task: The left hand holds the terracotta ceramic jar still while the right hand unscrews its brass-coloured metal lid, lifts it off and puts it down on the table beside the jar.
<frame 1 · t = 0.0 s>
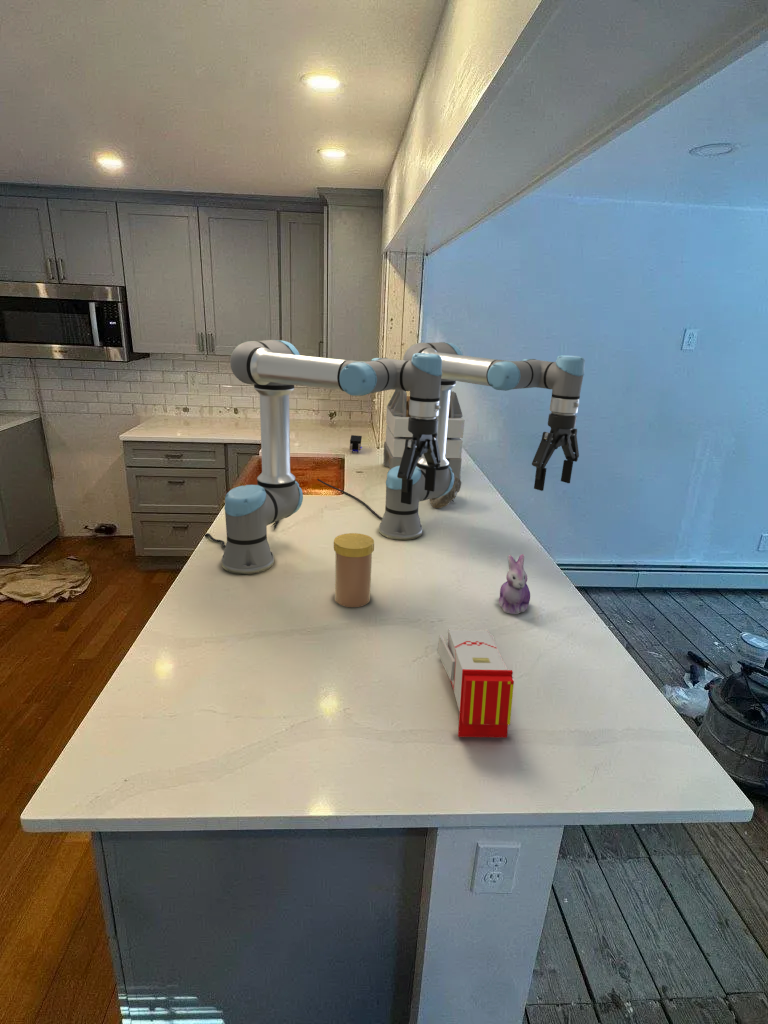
left hand: (418, 496, 151), 28 cm above the counter, tool pointing down, fingers open, 13 cm apart
right hand: (552, 485, 166), 28 cm above the counter, tool pointing down, fingers open, 13 cm apart
toy: (469, 691, 119), on the counter
jar: (352, 598, 154), on the counter
figurine: (513, 607, 154), on the counter
feather: (281, 517, 210), on the counter
fossil: (443, 501, 236), on the counter
figurine character: (355, 451, 311), on the counter
white wooden crate: (419, 473, 275), on the counter
lid: (354, 541, 149), point 17 cm above the counter, screwed on, not yet turned
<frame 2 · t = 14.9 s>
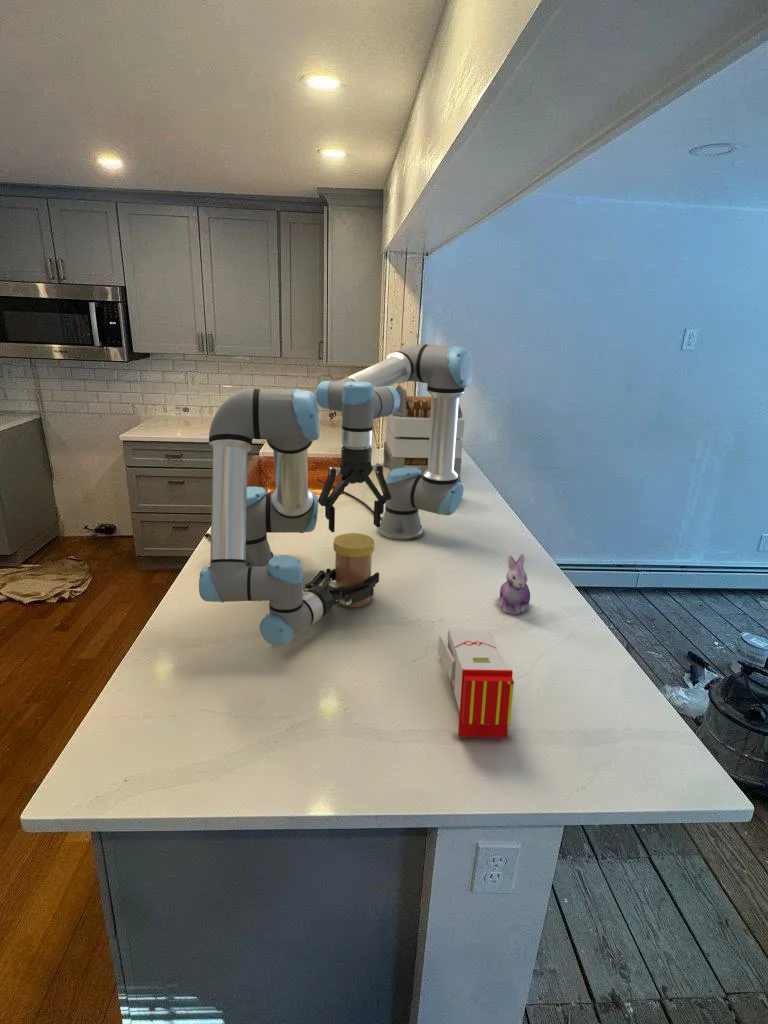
left hand: (361, 572, 156), 6 cm above the counter, tool horizontal, fingers closed on jar, 10 cm apart
right hand: (354, 528, 147), 21 cm above the counter, tool pointing down, fingers open, 12 cm apart
jar: (352, 598, 154), on the counter, touching left hand
everything else where it was.
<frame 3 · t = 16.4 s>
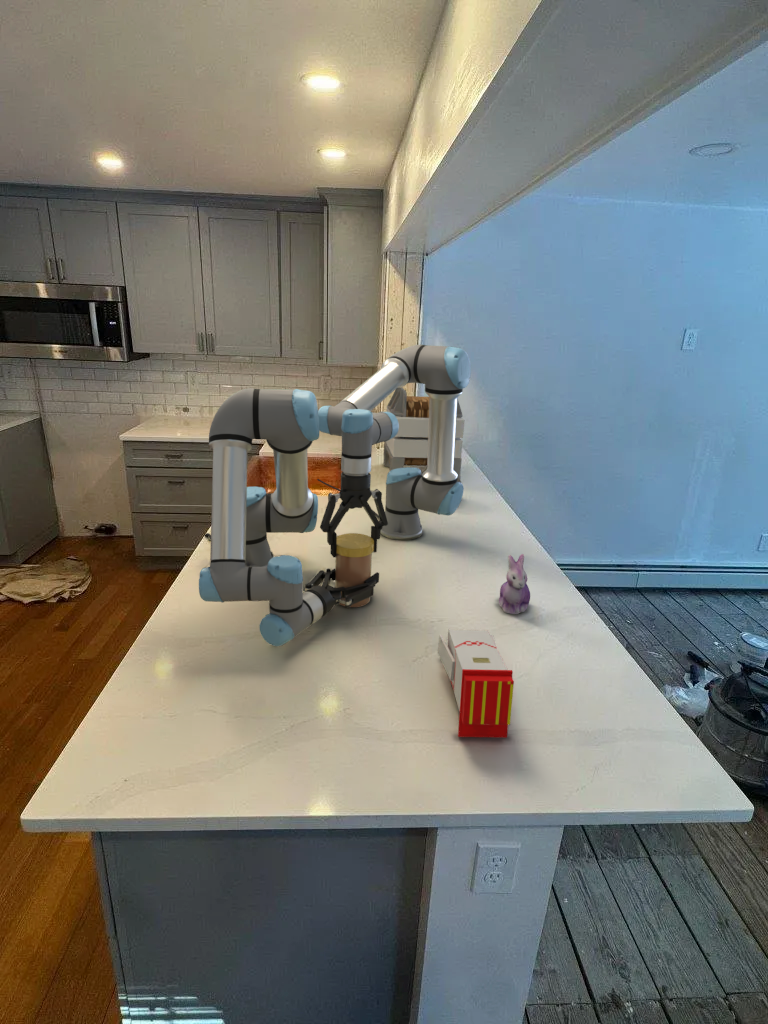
left hand: (361, 572, 156), 6 cm above the counter, tool horizontal, fingers closed on jar, 10 cm apart
right hand: (353, 552, 150), 14 cm above the counter, tool pointing down, fingers closed on lid, 10 cm apart
jar: (352, 598, 154), on the counter, touching left hand
lid: (354, 541, 149), point 17 cm above the counter, screwed on, not yet turned, touching right hand
everything else where it was.
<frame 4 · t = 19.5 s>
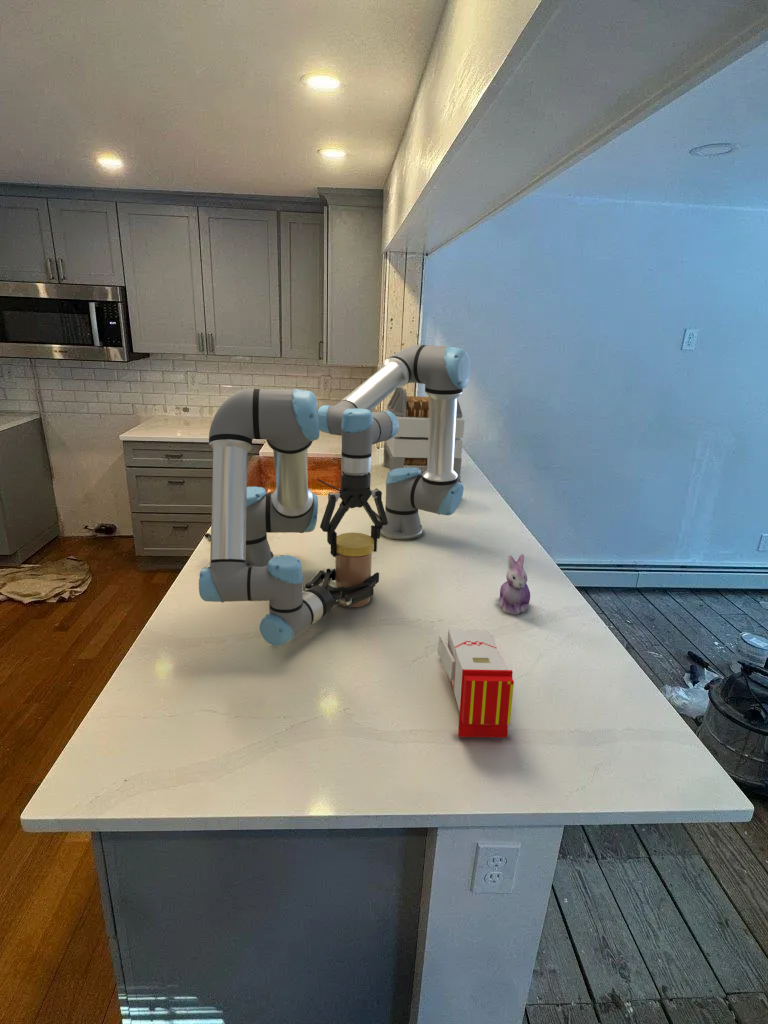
left hand: (361, 572, 156), 6 cm above the counter, tool horizontal, fingers closed on jar, 10 cm apart
right hand: (353, 552, 150), 14 cm above the counter, tool pointing down, fingers closed on lid, 10 cm apart
jar: (352, 598, 154), on the counter, touching left hand
lid: (354, 541, 149), point 17 cm above the counter, turned 80° so far, risen 0.2 cm, still on its thread, touching right hand
everything else where it was.
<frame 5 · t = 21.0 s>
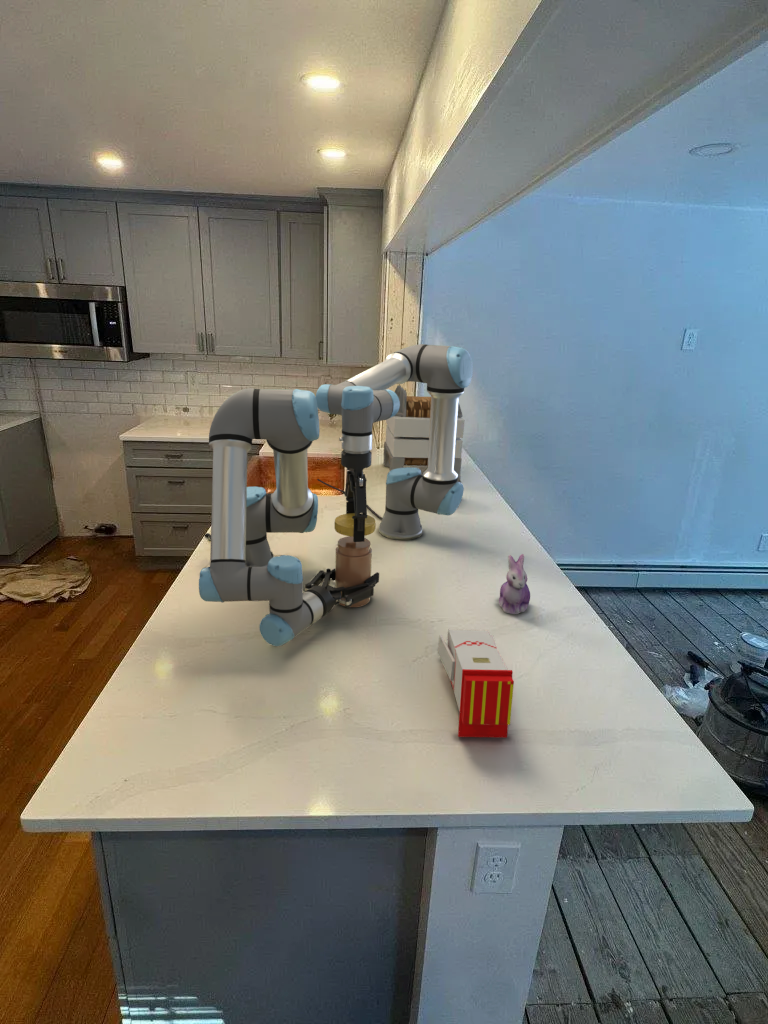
left hand: (361, 572, 156), 6 cm above the counter, tool horizontal, fingers closed on jar, 10 cm apart
right hand: (354, 532, 148), 19 cm above the counter, tool pointing down, fingers closed on lid, 10 cm apart
jar: (352, 598, 154), on the counter, touching left hand
lid: (355, 521, 147), point 22 cm above the counter, off its thread, touching right hand
everything else where it was.
when the right hand's fingers open (0 cm above the counter, at t = 26.2 s): lid drops 1 cm, point 2 cm above the counter.
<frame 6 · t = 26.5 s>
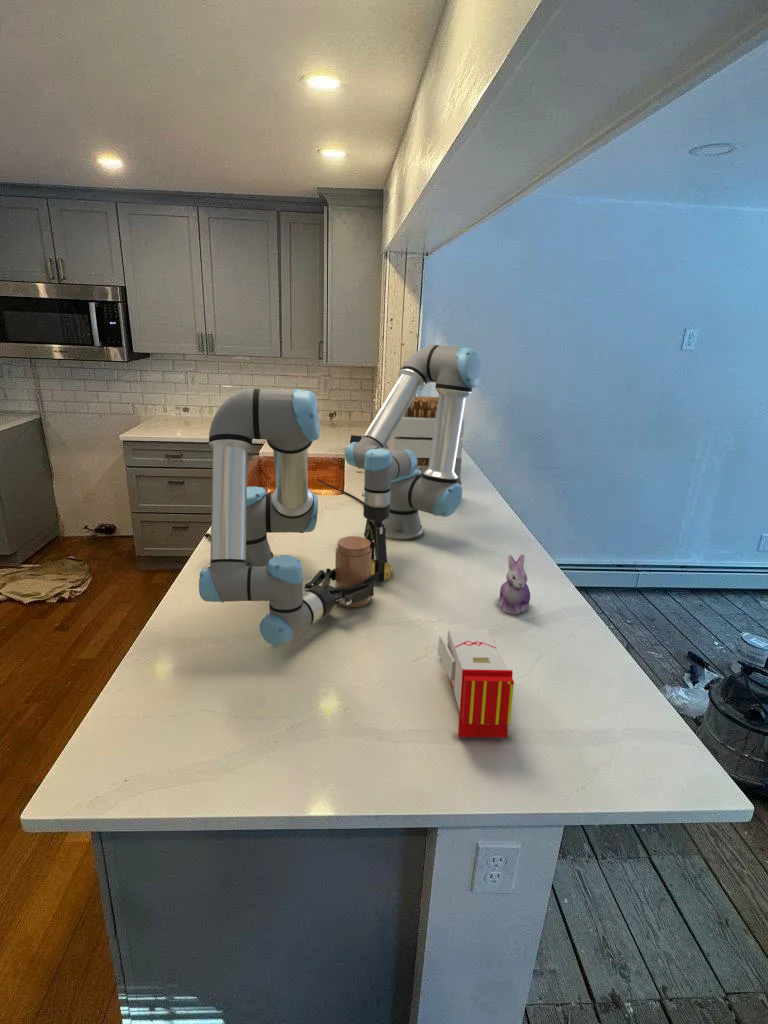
left hand: (361, 572, 156), 6 cm above the counter, tool horizontal, fingers closed on jar, 10 cm apart
right hand: (374, 571, 169), 1 cm above the counter, tool pointing down, fingers open, 13 cm apart
jar: (352, 598, 154), on the counter, touching left hand
lid: (373, 567, 168), point 2 cm above the counter, off its thread
everything else where it was.
when the left hand's fingers open (6 cm above the counter, at t = 27.3 s): jar stays where it is, on the counter.
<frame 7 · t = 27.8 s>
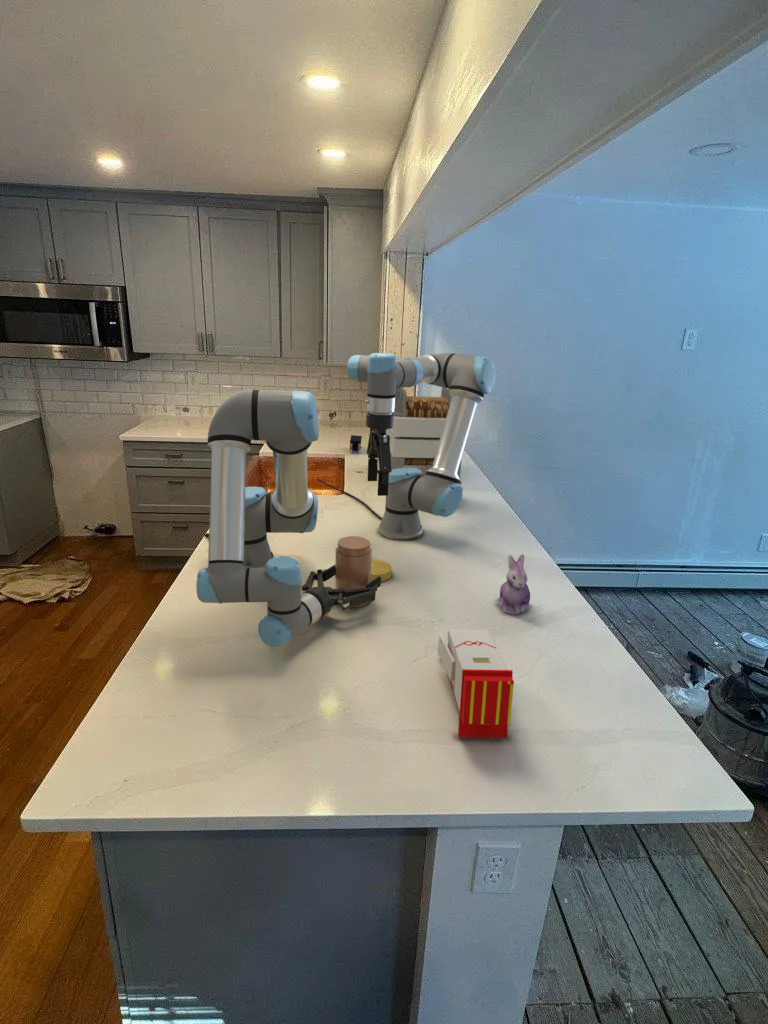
left hand: (358, 574, 154), 6 cm above the counter, tool horizontal, fingers open, 13 cm apart
right hand: (377, 487, 160), 27 cm above the counter, tool pointing down, fingers open, 13 cm apart
jar: (352, 598, 154), on the counter
everything else where it was.
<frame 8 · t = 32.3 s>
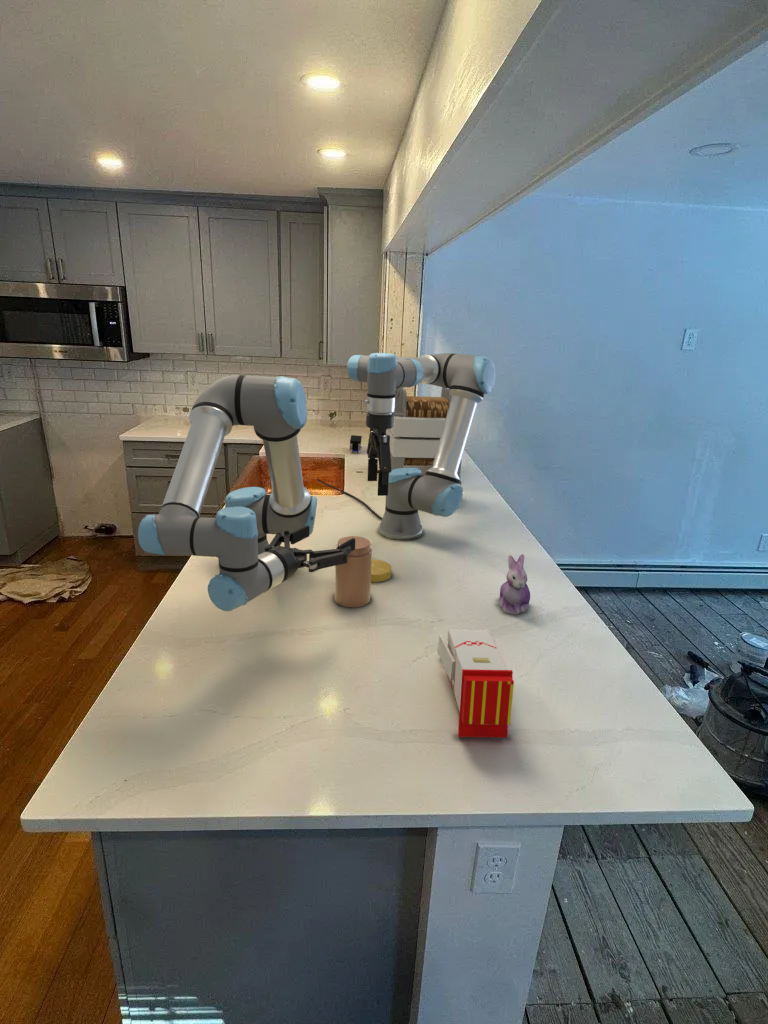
left hand: (330, 537, 138), 22 cm above the counter, tool horizontal, fingers open, 13 cm apart
right hand: (377, 487, 160), 27 cm above the counter, tool pointing down, fingers open, 13 cm apart
nothing on the counter moved.
at the end: lid came off its thread; lid point 2.0 cm above the counter; the left hand is holding nothing; the right hand is holding nothing; jar tilted 0°; jar moved 0.0 cm from its start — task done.
